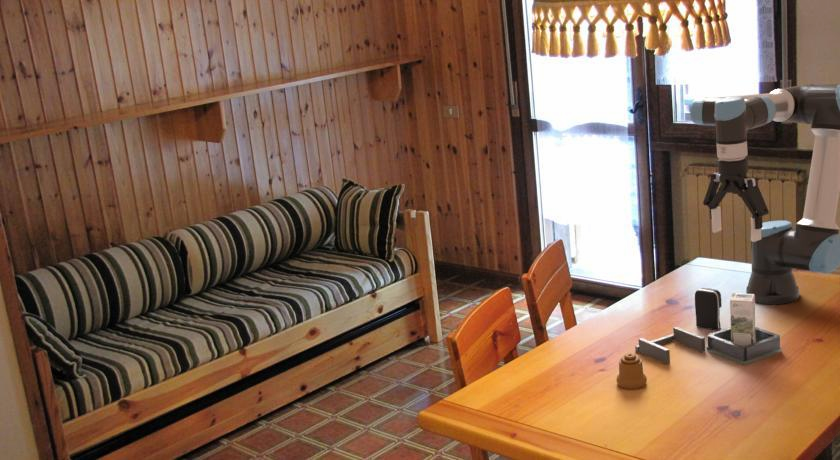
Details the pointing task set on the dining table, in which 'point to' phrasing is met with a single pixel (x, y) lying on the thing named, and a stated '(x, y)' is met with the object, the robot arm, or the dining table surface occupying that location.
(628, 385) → the ornamental finial
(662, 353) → the grey u-shaped bracket
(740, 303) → the syrup box
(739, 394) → the dining table surface
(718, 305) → the black rounded block
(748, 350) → the square tray
